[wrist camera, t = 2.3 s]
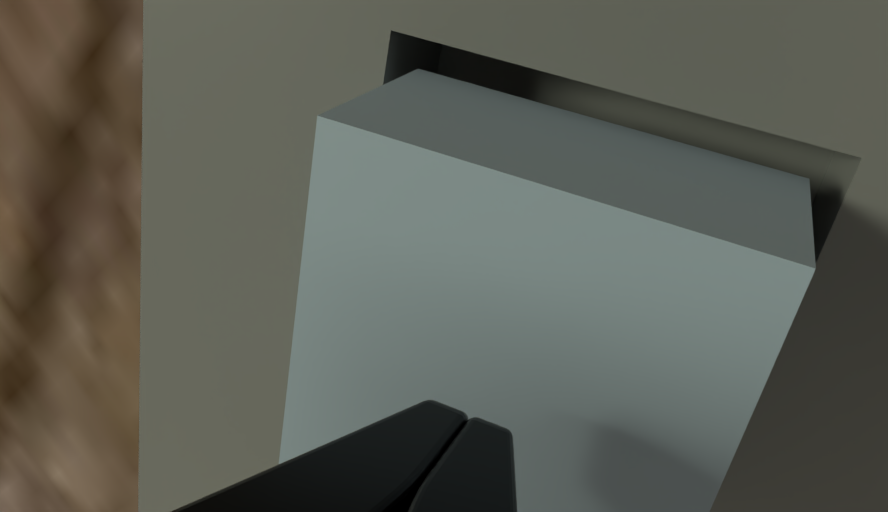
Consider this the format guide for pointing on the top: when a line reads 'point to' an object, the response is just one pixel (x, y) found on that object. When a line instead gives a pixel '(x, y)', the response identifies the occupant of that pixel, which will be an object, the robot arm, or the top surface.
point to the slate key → (543, 289)
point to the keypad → (537, 79)
